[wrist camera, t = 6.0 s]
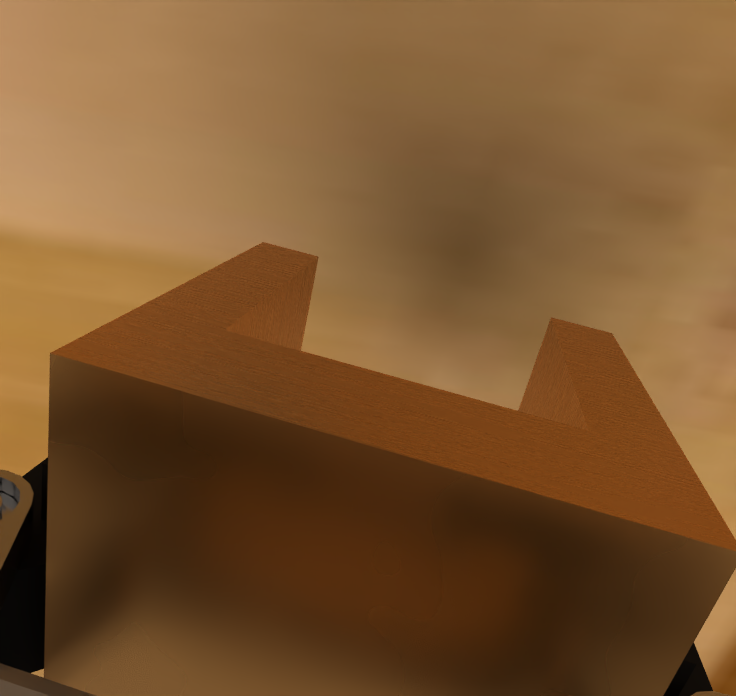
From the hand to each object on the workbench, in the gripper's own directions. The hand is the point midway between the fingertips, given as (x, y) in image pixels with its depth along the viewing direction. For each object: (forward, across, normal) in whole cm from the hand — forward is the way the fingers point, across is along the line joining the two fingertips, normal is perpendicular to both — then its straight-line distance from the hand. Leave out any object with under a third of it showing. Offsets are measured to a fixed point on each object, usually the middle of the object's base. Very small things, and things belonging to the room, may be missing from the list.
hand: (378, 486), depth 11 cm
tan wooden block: (+1, 0, 0) cm, 1 cm away
